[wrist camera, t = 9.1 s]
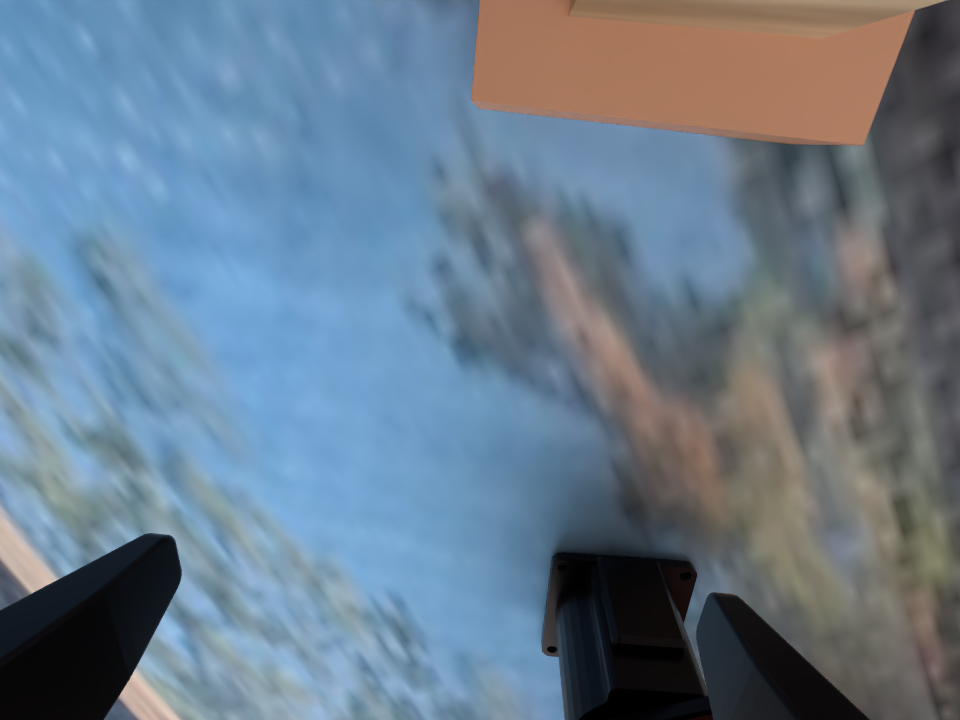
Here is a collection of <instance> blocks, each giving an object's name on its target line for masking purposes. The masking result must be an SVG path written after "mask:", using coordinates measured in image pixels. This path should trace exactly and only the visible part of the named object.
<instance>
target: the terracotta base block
mask: <svg viewBox="0 0 960 720" xmlns="http://www.w3.org/2000/svg"><path fill="white" fill-rule="evenodd" d="M570 1H571V0H480V5H479V16H478V28H477V40H476V51H475V63H474V74H473V86H472V97H471V101H472V102H473V103H474V104H475V105H476V106H477V107H478V108H479V109H487V110H495V111H504V112H513V113H522V114H530V115H539V116H548V117H557V118H566V119H574V120H583V121H592V122H601V123H609V124H618V125H627V126H636V127H645V128H653V129H662V130H671V131H680V132H688V133H697V134H706V135H715V136H724V137H732V138H741V139H750V140H759V141H767V142H776V143H785V144H811V145H864V143H865V140H866V137H867V135H868V132H869V129H870V127H871V124H872V122H873V119H874V116H875V114H876V111H877V109H878V106H879V103H880V101H881V98H882V95H883V93H884V90H885V88H886V85H887V82H888V80H889V77H890V75H891V72H892V69H893V67H894V64H895V62H896V59H897V56H898V54H899V51H900V48H901V46H902V43H903V41H904V38H905V35H906V33H907V30H908V28H909V25H910V22H911V20H912V17H913V14H914V12H915V10H913V11H910V12H907V13H904V14H900V15H897V16H894V17H891V18H887V19H884V20H881V21H877V22H874V23H871V24H868V25H864V26H861V27H858V28H854V29H851V30H848V31H845V32H841V33H838V34H835V35H831V36H828V37H825V38H812V37H800V36H789V35H777V34H766V33H754V32H743V31H731V30H720V29H708V28H697V27H685V26H674V25H662V24H651V23H639V22H628V21H616V20H605V19H593V18H582V17H571V16H569V8H570Z"/></svg>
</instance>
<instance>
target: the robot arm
mask: <svg viewBox="0 0 960 720" xmlns="http://www.w3.org/2000/svg"><path fill="white" fill-rule="evenodd" d="M561 563H566V564H564V565H561ZM683 572H685V573H683ZM181 575H182V570H181V565H180V560H179V555H178V551H177V546H176V542H175V539H174V538H173V537H172V536H170V535H164V534H155V533H148V534H144V535H142V536H140V537H138V538H136V539H134V540H132V541H131V542H129V543H127V544H125V545H123V546H121V547H119V548H117V549H115V550H114V551H112V552H110V553H108V554H106V555H104V556H102V557H100V558H98V559H96V560H95V561H93V562H91V563H89V564H87V565H85V566H83V567H81V568H79V569H78V570H76V571H74V572H72V573H70V574H68V575H66V576H64V577H62V578H60V579H59V580H57V581H55V582H53V583H51V584H49V585H47V586H45V587H43V588H41V589H40V590H38V591H36V592H34V593H32V594H30V595H28V596H26V597H24V598H23V599H21V600H19V601H17V602H15V603H13V604H11V605H9V606H7V607H5V608H4V609H2V610H0V720H104V719H105V717H106V716H107V714H108V713H109V711H110V709H111V708H112V706H113V705H114V703H115V702H116V700H117V698H118V697H119V695H120V694H121V692H122V691H123V689H124V687H125V686H126V684H127V682H128V681H129V679H130V677H131V676H132V674H133V672H134V670H135V668H136V667H137V665H138V663H139V661H140V659H141V657H142V655H143V653H144V652H145V650H146V648H147V646H148V644H149V642H150V640H151V638H152V636H153V634H154V632H155V630H156V629H157V627H158V625H159V623H160V621H161V619H162V617H163V615H164V613H165V611H166V609H167V608H168V606H169V604H170V602H171V600H172V598H173V596H174V594H175V592H176V590H177V588H178V586H179V584H180V581H181ZM696 578H697V573H696V570H695V568H694V566H693V564H692V563H690V562H688V561H681V560H666V559H652V558H637V557H623V556H609V555H594V554H580V553H566V552H562V553H557V554H555V555H554V556H553V558H552V561H551V569H550V577H549V585H548V593H547V601H546V609H545V617H544V625H543V633H542V641H541V642H542V652H543V653H544V654H546V655H547V656H554V657H559V664H560V675H561V686H562V696H563V707H564V718H565V720H870V719H868V718H867V717H866V716H865V715H864V714H863V713H862V712H861V711H860V710H859V709H858V708H857V707H856V706H855V705H854V704H853V703H851V702H850V701H849V700H848V699H847V698H846V697H845V696H844V695H843V694H842V693H841V692H840V691H839V690H838V689H837V688H835V687H834V686H833V685H832V684H831V683H830V682H829V681H828V680H827V679H826V678H825V677H824V676H823V675H822V674H821V673H820V672H818V671H817V670H816V669H815V668H814V667H813V666H812V665H811V664H810V663H809V662H808V661H807V660H806V659H805V658H804V657H803V656H801V655H800V654H799V653H798V652H797V651H796V650H795V649H794V648H793V647H792V646H791V645H790V644H789V643H788V642H787V641H785V640H784V639H783V638H782V637H781V636H780V635H779V634H778V633H777V632H776V631H775V630H774V629H773V628H772V627H771V626H770V625H768V624H767V623H766V622H765V621H764V620H763V619H762V618H761V617H760V616H759V615H758V614H757V613H756V612H755V611H754V610H752V609H751V608H750V607H749V606H748V605H747V604H746V603H745V602H744V601H743V600H742V599H741V598H739V597H738V596H736V595H733V594H725V593H716V592H713V593H710V594H709V595H708V597H707V599H706V602H705V605H704V608H703V611H702V614H701V617H700V620H699V622H698V626H697V632H696V637H697V644H698V649H699V654H700V658H701V663H702V668H703V673H704V677H705V682H706V686H705V683H704V680H703V677H702V674H701V672H700V669H699V666H698V663H697V660H696V658H695V655H694V652H693V649H692V646H691V644H690V641H689V638H688V635H687V632H686V630H685V627H684V620H685V617H686V613H687V610H688V606H689V603H690V599H691V596H692V592H693V589H694V585H695V582H696ZM706 687H707V688H706Z"/></svg>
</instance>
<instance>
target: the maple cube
mask: <svg viewBox="0 0 960 720" xmlns="http://www.w3.org/2000/svg"><path fill="white" fill-rule="evenodd" d="M943 1H946V0H571V1H570V8H569V16H571V17H582V18H593V19H605V20H616V21H628V22H639V23H651V24H662V25H674V26H685V27H697V28H708V29H720V30H731V31H743V32H754V33H766V34H777V35H789V36H800V37H812V38H825V37H828V36H831V35H835V34H838V33H841V32H845V31H848V30H851V29H854V28H858V27H861V26H864V25H868V24H871V23H874V22H877V21H881V20H884V19H887V18H891V17H894V16H897V15H900V14H904V13H907V12H910V11H913V10H917V9H920V8H923V7H927V6H930V5H933V4H936V3H940V2H943Z"/></svg>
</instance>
